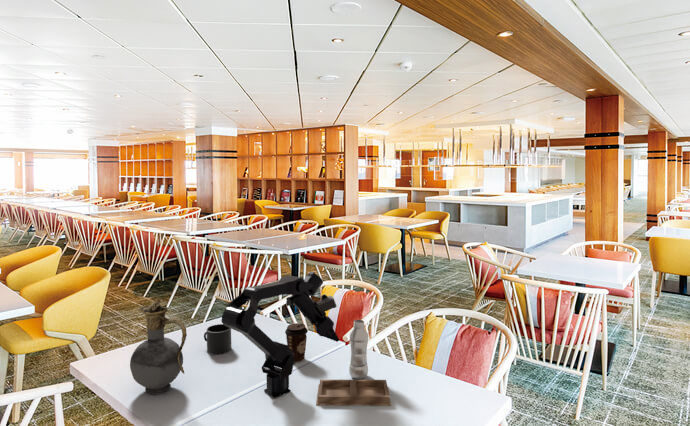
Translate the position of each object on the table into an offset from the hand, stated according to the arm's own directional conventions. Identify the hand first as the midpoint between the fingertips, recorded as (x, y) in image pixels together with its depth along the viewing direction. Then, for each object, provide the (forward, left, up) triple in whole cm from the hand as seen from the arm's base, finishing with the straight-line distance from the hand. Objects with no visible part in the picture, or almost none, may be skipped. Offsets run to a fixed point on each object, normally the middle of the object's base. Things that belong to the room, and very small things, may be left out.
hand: (335, 336), depth 150 cm
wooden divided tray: (-5, -15, -14) cm, 21 cm away
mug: (-22, +48, -14) cm, 55 cm away
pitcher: (-50, +29, -14) cm, 59 cm away
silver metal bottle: (+5, -7, -14) cm, 16 cm away
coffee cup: (-3, +19, -14) cm, 24 cm away
